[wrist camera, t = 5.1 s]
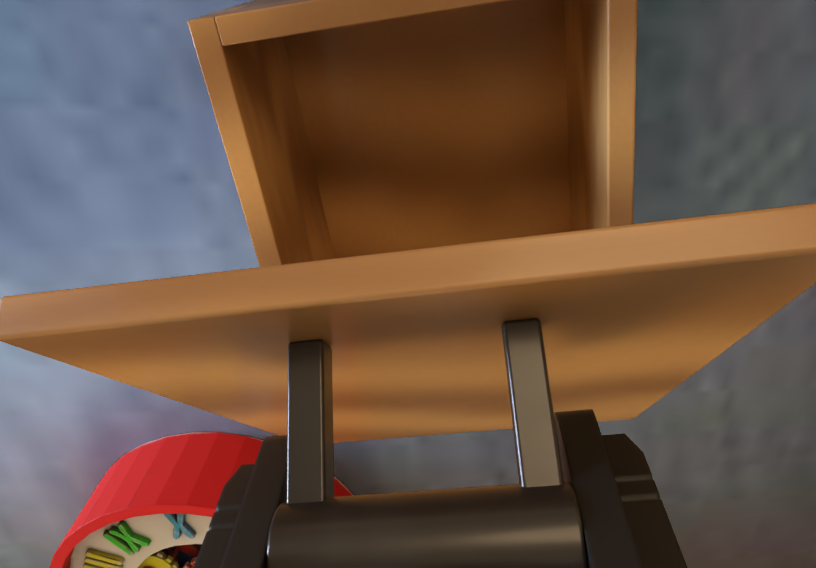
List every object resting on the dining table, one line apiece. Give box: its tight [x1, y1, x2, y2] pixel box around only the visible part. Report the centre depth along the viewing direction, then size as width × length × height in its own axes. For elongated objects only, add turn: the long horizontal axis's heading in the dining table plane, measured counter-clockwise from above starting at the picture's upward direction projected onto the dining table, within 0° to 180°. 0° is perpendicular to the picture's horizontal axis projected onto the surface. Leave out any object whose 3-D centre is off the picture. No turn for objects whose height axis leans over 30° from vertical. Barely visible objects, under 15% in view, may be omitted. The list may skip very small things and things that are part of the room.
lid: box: [0, 203, 816, 568], centre depth 17 cm, size 18×14×5 cm
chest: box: [188, 0, 638, 267], centre depth 27 cm, size 17×14×9 cm
